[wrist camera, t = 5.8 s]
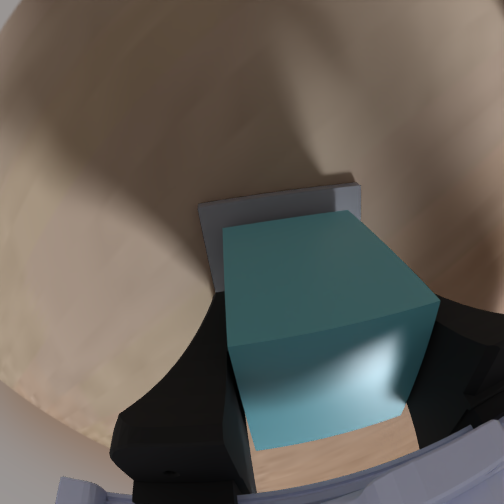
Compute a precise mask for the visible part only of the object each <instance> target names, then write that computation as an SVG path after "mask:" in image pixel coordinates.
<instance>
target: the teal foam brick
mask: <svg viewBox="0 0 504 504" xmlns="http://www.w3.org/2000/svg"><path fill="white" fill-rule="evenodd" d="M222 229H223V260H224V285H225V307H226V328H227V346H228V351H229V355H230V359H231V363H232V366H233V370H234V374H235V378H236V382H237V385H238V389H239V393H240V396H241V400H242V404H243V407H244V411H245V414H246V418H247V422H248V425H249V429H250V432H251V435H252V439H253V442H254V446H255V449H256V451H258V450H265V449H271V448H277V447H283V446H289V445H294V444H299V443H304V442H309V441H314V440H318V439H322V438H326V437H331V436H335V435H338V434H342V433H346V432H350V431H353V430H357V429H360V428H363V427H367V426H370V425H373V424H376V423H379V422H382V421H385V420H388V419H391V418H394V417H397V416H400V415H401V413H402V411H403V409H404V407H405V404H406V402H407V400H408V397H409V395H410V392H411V390H412V387H413V385H414V382H415V380H416V377H417V374H418V372H419V369H420V366H421V363H422V361H423V358H424V355H425V352H426V349H427V346H428V343H429V340H430V336H431V333H432V330H433V326H434V323H435V319H436V316H437V312H438V309H439V305H440V301H441V300H440V299H439V298H438V297H437V296H436V295H435V294H434V293H433V292H432V291H431V290H430V289H429V288H428V287H427V285H426V284H425V283H424V282H423V281H422V280H421V279H420V278H419V277H418V276H417V275H416V274H415V273H414V272H413V271H412V270H411V269H410V268H409V267H408V266H407V265H406V264H405V263H404V262H403V261H402V260H401V259H400V258H399V257H398V256H397V255H396V254H395V253H394V252H393V251H392V250H391V249H390V248H389V247H388V246H387V245H386V244H385V243H383V242H382V241H381V240H380V239H379V238H378V237H377V236H376V235H375V234H374V233H373V232H372V231H371V230H370V229H369V228H367V227H366V226H365V225H364V224H363V223H362V222H361V221H360V220H359V219H358V218H356V217H355V216H354V215H353V214H352V213H351V212H350V211H349V210H343V211H335V212H328V213H321V214H313V215H306V216H299V217H292V218H285V219H279V220H272V221H265V222H259V223H252V224H246V225H239V226H233V227H226V228H222Z"/></svg>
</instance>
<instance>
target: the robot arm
mask: <svg viewBox="0 0 504 504" xmlns="http://www.w3.org/2000/svg"><path fill="white" fill-rule="evenodd" d="M435 295H436V296H437V297H438V298H439V299H440V300H441V301H440V305H439V309H438V312H437V316H436V319H435V323H434V326H433V330H432V333H431V336H430V340H429V343H428V346H427V349H426V352H425V355H424V358H423V361H422V363H421V366H420V369H419V372H418V374H417V377H416V380H415V382H414V385H413V387H412V390H411V392H410V395H409V397H408V400H407V405H408V408H409V411H410V414H411V418H412V421H413V424H414V428H415V431H416V436H417V440H418V444H419V449H420V450H417V451H415V452H413V453H410V454H408V455H405V456H403V457H400V458H398V459H395V460H392V461H390V462H387V463H384V464H381V465H378V466H375V467H372V468H369V469H366V470H363V471H360V472H356V473H353V474H350V475H346V476H342V477H339V478H335V479H331V480H327V481H323V482H318V483H314V484H309V485H305V486H300V487H294V488H289V489H283V490H277V491H270V492H263V493H257V491H256V485H255V479H254V473H253V467H252V461H251V454H250V447H249V440H248V433H247V426H246V418H245V411H244V407H243V404H242V400H241V396H240V393H239V389H238V385H237V382H236V378H235V374H234V370H233V366H232V363H231V359H230V355H229V351H228V346H227V328H226V307H225V291H221V292H216V293H215V295H214V297H213V299H212V302H211V305H210V307H209V309H208V312H207V314H206V316H205V318H204V320H203V322H202V324H201V326H200V328H199V329H198V331H197V333H196V335H195V336H194V338H193V340H192V341H191V343H190V344H189V346H188V347H187V349H186V350H185V352H184V353H183V355H182V356H181V357H180V359H179V360H178V361H177V363H176V364H175V365H174V366H173V367H172V368H171V370H170V371H169V372H168V373H167V374H166V375H165V376H164V377H163V379H162V380H161V381H160V382H159V383H157V384H156V385H155V386H154V387H153V388H152V389H151V390H150V391H149V392H148V393H146V394H145V395H144V396H143V397H142V398H140V399H139V400H138V401H136V402H135V403H134V404H132V405H131V406H130V407H128V408H127V409H126V410H124V411H123V412H121V413H120V414H119V416H118V419H117V422H116V424H115V428H114V432H113V436H112V442H111V447H110V452H109V453H110V458H111V459H112V461H113V462H114V463H115V464H116V465H117V466H118V467H119V468H120V469H121V470H122V471H123V472H125V473H126V474H127V475H128V476H129V477H131V478H132V479H133V480H134V484H133V494H132V495H128V494H119V493H111V492H106V491H105V490H104V489H103V488H102V487H100V486H99V485H97V484H95V483H92V482H88V481H84V480H78V479H73V478H68V477H61V478H60V482H59V487H58V492H57V497H56V503H55V504H504V314H500V313H494V312H489V311H484V310H480V309H476V308H473V307H469V306H466V305H463V304H459V303H457V302H454V301H451V300H449V299H446V298H444V297H441V296H439V295H437V294H435Z"/></svg>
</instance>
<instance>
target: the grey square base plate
mask: <svg viewBox="0 0 504 504" xmlns="http://www.w3.org/2000/svg"><path fill="white" fill-rule="evenodd" d="M343 210H349V211H350V212H351V213H352V214H353V215H354V216H355V217H356V218H358V219H359V220H360V221H361V185H359V184H358V183H356V182H355V183H345V184H336V185H327V186H318V187H310V188H302V189H294V190H286V191H279V192H272V193H264V194H258V195H251V196H244V197H237V198H231V199H225V200H218V201H212V202H206V203H200V204H198V212H199V217H200V222H201V227H202V232H203V237H204V242H205V247H206V251H207V256H208V261H209V265H210V270H211V274H212V279H213V283H214V288H215V292H221V291H225V285H224V260H223V229H222V228H226V227H233V226H239V225H246V224H252V223H259V222H265V221H272V220H279V219H285V218H292V217H299V216H306V215H313V214H321V213H328V212H335V211H343Z"/></svg>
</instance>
